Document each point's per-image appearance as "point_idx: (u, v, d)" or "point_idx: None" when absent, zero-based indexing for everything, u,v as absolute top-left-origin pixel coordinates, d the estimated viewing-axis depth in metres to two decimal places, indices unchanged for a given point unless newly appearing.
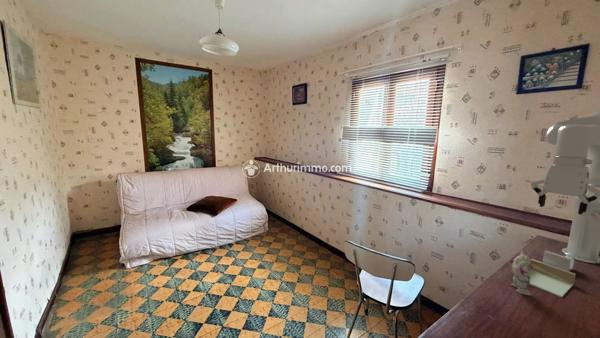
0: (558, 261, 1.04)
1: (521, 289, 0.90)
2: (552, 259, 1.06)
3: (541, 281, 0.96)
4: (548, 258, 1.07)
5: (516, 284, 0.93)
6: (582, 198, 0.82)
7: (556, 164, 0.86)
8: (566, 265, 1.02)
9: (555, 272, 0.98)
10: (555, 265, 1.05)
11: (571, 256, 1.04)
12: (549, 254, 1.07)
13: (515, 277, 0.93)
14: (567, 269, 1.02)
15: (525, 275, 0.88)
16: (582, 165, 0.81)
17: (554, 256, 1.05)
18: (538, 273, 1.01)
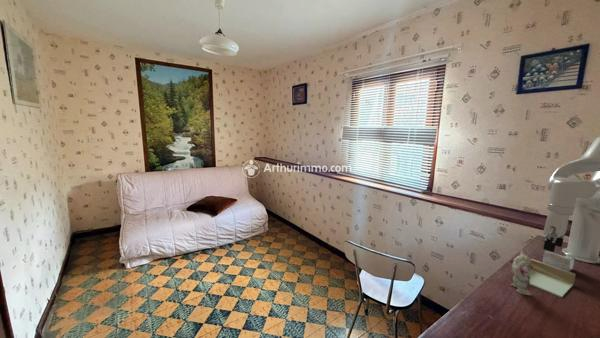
0: (558, 261, 1.04)
1: (521, 289, 0.90)
2: (552, 259, 1.06)
3: (541, 281, 0.96)
4: (548, 258, 1.07)
5: (516, 284, 0.93)
6: (563, 234, 1.06)
7: (567, 214, 1.00)
8: (566, 265, 1.02)
9: (555, 272, 0.98)
10: (555, 265, 1.05)
11: (571, 256, 1.04)
12: (549, 254, 1.07)
13: (515, 277, 0.93)
14: (567, 269, 1.02)
15: (525, 275, 0.88)
16: None
17: (554, 256, 1.05)
18: (538, 273, 1.01)
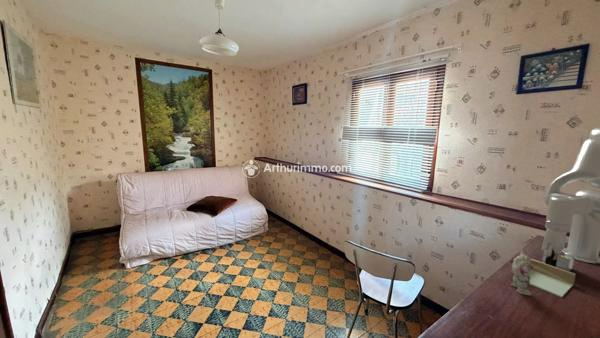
0: (558, 261, 1.05)
1: (521, 289, 0.90)
2: None
3: (541, 281, 0.96)
4: None
5: (516, 284, 0.93)
6: None
7: (565, 231, 1.01)
8: (566, 265, 1.03)
9: (555, 272, 0.98)
10: None
11: (571, 256, 1.04)
12: None
13: (515, 277, 0.93)
14: (567, 269, 1.03)
15: (525, 275, 0.88)
16: None
17: None
18: (538, 273, 1.01)
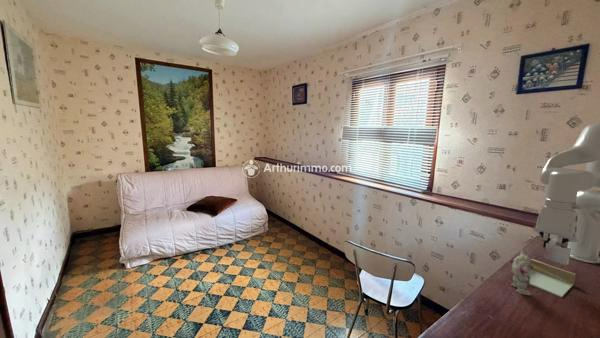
0: None
1: (521, 289, 0.90)
2: None
3: (541, 281, 0.96)
4: None
5: (516, 284, 0.93)
6: (559, 239, 0.91)
7: (547, 206, 0.92)
8: None
9: (555, 272, 0.98)
10: None
11: (562, 247, 0.89)
12: None
13: (515, 277, 0.93)
14: None
15: (525, 275, 0.88)
16: (571, 209, 0.88)
17: None
18: (538, 273, 1.01)
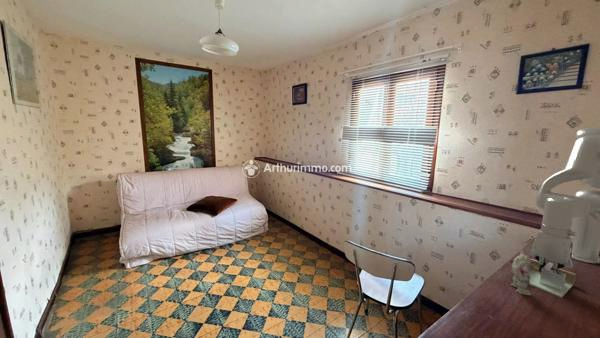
0: None
1: (521, 289, 0.90)
2: None
3: None
4: None
5: (516, 284, 0.93)
6: (555, 265, 0.93)
7: (543, 232, 0.94)
8: None
9: None
10: None
11: (557, 273, 0.91)
12: None
13: (515, 277, 0.93)
14: None
15: (525, 275, 0.88)
16: (566, 236, 0.89)
17: None
18: (538, 273, 1.01)
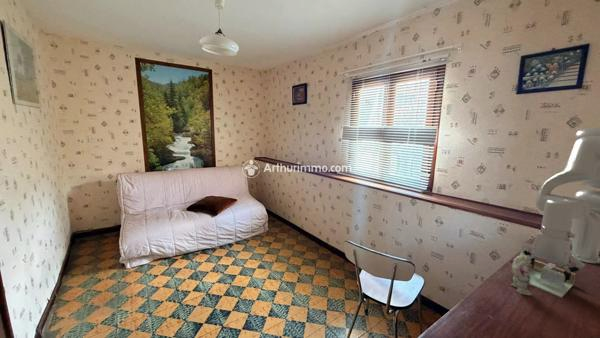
0: None
1: (521, 289, 0.90)
2: None
3: None
4: None
5: (516, 284, 0.93)
6: (566, 268, 0.90)
7: (542, 234, 0.94)
8: None
9: None
10: None
11: (557, 273, 0.91)
12: (547, 265, 0.97)
13: (515, 277, 0.93)
14: None
15: (525, 275, 0.88)
16: (565, 238, 0.89)
17: None
18: (538, 273, 1.01)
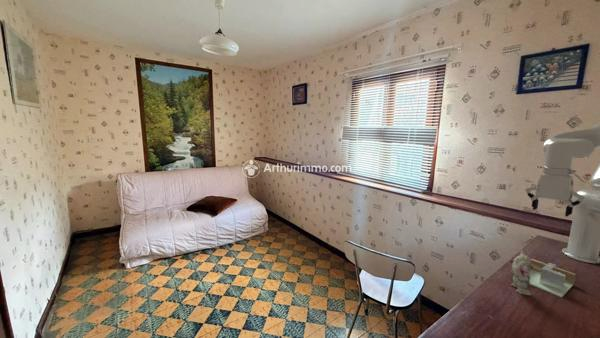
0: None
1: (521, 289, 0.90)
2: None
3: None
4: None
5: (516, 284, 0.93)
6: (568, 202, 0.97)
7: (545, 174, 1.00)
8: None
9: None
10: None
11: (557, 273, 0.91)
12: (547, 265, 0.97)
13: (515, 277, 0.93)
14: None
15: (525, 275, 0.88)
16: (567, 175, 0.96)
17: None
18: (538, 273, 1.01)
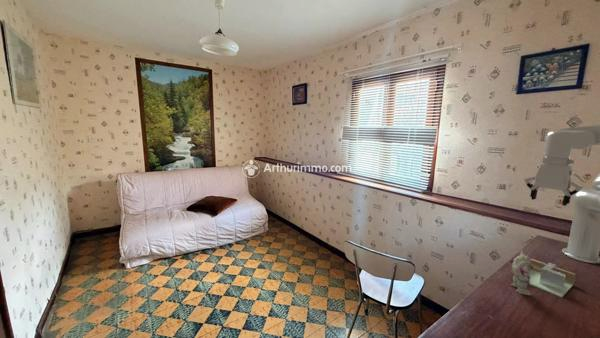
0: None
1: (521, 289, 0.90)
2: None
3: None
4: None
5: (516, 284, 0.93)
6: (565, 192, 0.99)
7: (544, 163, 1.03)
8: None
9: None
10: None
11: (557, 273, 0.91)
12: (547, 265, 0.97)
13: (515, 277, 0.93)
14: None
15: (525, 275, 0.88)
16: (565, 164, 0.98)
17: None
18: (538, 273, 1.01)
